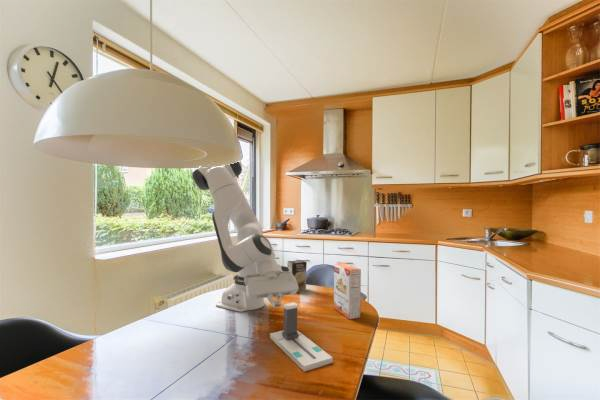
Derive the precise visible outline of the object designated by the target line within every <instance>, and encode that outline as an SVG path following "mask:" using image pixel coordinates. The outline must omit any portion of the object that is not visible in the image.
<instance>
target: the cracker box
mask: <svg viewBox="0 0 600 400" xmlns="http://www.w3.org/2000/svg"><path fill="white" fill-rule="evenodd" d="M361 271H362V270H361V269H360V268H359V267H356V266H353V265H351V264H348V263H345V262H339V263H337V262H336V263H334V264H333V309H335V310H336V311H337V312H338V313H340V315H341V314H342V315H343V316H344V317H345V318H346V319H348V320H355V319H360V318H361V311H362V310H361V306H362V305H361V302H362V299H361V296H362V295H361V294H362V293H361V291H362V289H361V285H362V283H361V281H362V278H361V277H362V272H361Z"/></svg>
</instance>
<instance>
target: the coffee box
mask: <svg viewBox="0 0 600 400" xmlns="http://www.w3.org/2000/svg"><path fill="white" fill-rule="evenodd" d="M286 267H289V268H291V274H293V275H294V277H295V279H296V281H297V284H298V287H299V288H298V291H297V292H296V293H299V292H305V291H306V290H307V261H305V260H300V259H298V260H288V261H287V265H286Z"/></svg>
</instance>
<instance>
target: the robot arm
mask: <svg viewBox="0 0 600 400" xmlns="http://www.w3.org/2000/svg"><path fill="white" fill-rule="evenodd" d="M242 171H243V164H242V161H241V160H240V162H237V163H234V164H230V165H225V166H217V167H208V168H200V167H199V168H198V167H196V168H195V169H194V170H193V171H192V175H191V176H192V180H193V184H194V185H195V186H196V187H197V188H198V189H199V190H201V191H208V190H209V192H210V195H211V196H212V200H213V203H214V204H213V205H214V207H213V212H212V214H211V217H212V221H213V222H212V223H213V226H214V231H215V234H216V238H217V242H218V245H219V249H220V254H221V255H220V256H221V262H222V266H223V267H224V268H225V269H226V270H227V271H229V272H232V273H237V274H236V275H234V276H233V277H232V280H234V282H233V283H232V284H231V285H229V286H228V287H227V288H225V289H224V290H223V292H222V295H221V299H219V300H218V301H217V302H216V305H215V306H216V307H218V308H222V309H227V310H230V311H236V312H242V313H243V312H246V311H253V310H258V309H261V308H263V307H264V306H266V305H265V304H266V303H265V299H266V298H267V301H268V302H269V303H270V304H271V306H272V308H281V306H282V301H281V300H282V298H283V296H291V295H295V294H297V293H298V292H297V291H298V288H299V287H298V284H297V281H296V279H295V277H294V275H293V274H291V268H289V267H287V266H285V265H281V264H279V263H278V262H277V260H276V254H275V252H274V251H275V250H274V248H273V246H272V243H271V242H270V240H269V239H268V237H266V236H264V235H263V233H264V231H263V228H262V225H261V224H260V221H259V219H258V218H257V217H256V214H255V213H254V210H253V209H252V208H251V205H250V203H249V202H248V200H247V197H246V196H245V194H244V192H243V190H242V188H241V187H240V185H239V184H238V182H237V181H236V179H235V177H236V178H237V179H239V178H240V177H239V176H240V175H242ZM230 221H231V222H232V224H233V226H234V227H235V229H236V231H237V234H236V241H237V243H236V244H233V241H232V237H231V234H230V230H229V223H230ZM274 297H276V299H277V300H275V299H274ZM264 298H265V299H264Z"/></svg>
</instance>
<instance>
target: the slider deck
mask: <svg viewBox="0 0 600 400" xmlns="http://www.w3.org/2000/svg"><path fill="white" fill-rule="evenodd" d="M282 332H284V329H283V330H278V331H275V332H271V333H269V339H271V341H272V342H274V344H276V345H277V347H279V348H280V349H281V350H282V351H283V352H284V353H285V355H286V356H287V357H289V358H290V359H291V361H293V362H294V364H296V365H297V366H298V367H299V368H300V369H301V370H302V371H303V372H307V371H311V370H314V369H318V368H320V367H323V366H326V365H330V364H333V362H334V361H333V359H334V357H333V356H331V355H330V354H329V353H327V352H326V351H325V350H323V348H321V347H319V345H317V344H316V343H314V342H313V341H312V340H311V339H310V338H308V337H307V336H306V335H304V334H303V333H302V332H300V331H299V330H298V329H297V333H298V334H299V337H298V338H294V339H290V340H287V339H285V338H284V337H283V336H282Z"/></svg>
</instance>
